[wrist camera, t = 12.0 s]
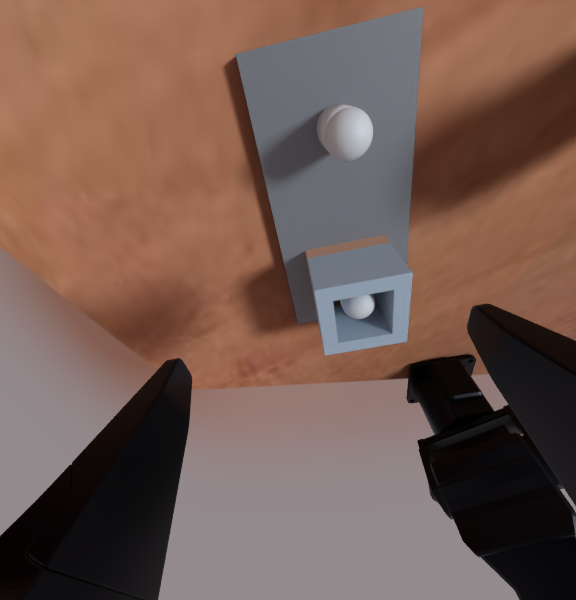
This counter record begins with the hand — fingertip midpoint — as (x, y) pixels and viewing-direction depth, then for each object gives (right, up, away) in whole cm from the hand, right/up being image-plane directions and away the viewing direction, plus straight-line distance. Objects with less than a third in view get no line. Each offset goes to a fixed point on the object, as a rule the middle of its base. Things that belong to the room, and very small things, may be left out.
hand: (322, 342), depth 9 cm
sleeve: (+3, +3, +13) cm, 14 cm away
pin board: (+2, +8, +11) cm, 13 cm away
